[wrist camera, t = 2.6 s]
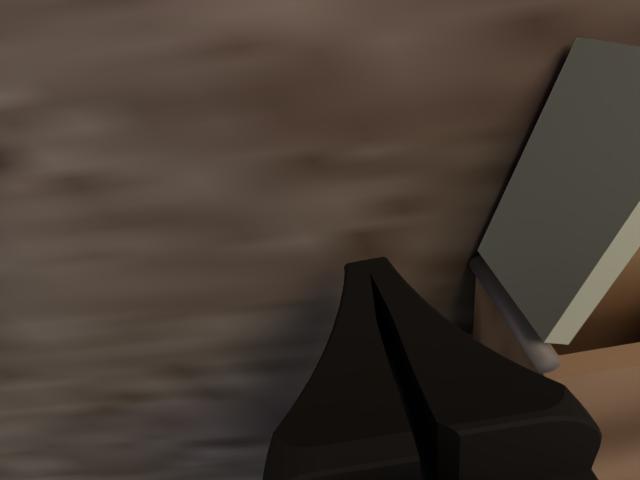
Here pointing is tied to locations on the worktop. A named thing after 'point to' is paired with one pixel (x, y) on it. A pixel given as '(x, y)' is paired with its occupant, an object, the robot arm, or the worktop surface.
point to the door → (569, 203)
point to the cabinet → (591, 367)
